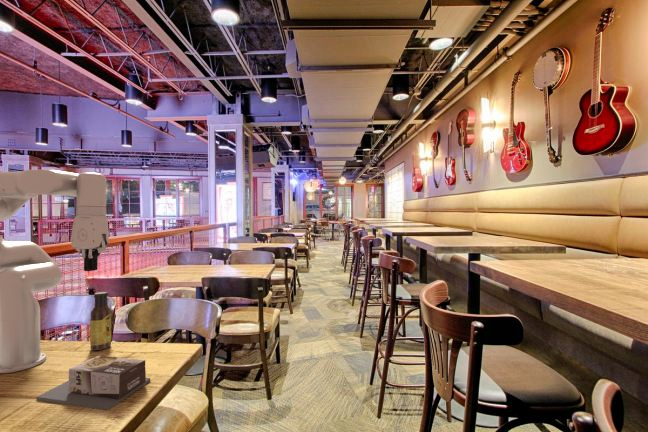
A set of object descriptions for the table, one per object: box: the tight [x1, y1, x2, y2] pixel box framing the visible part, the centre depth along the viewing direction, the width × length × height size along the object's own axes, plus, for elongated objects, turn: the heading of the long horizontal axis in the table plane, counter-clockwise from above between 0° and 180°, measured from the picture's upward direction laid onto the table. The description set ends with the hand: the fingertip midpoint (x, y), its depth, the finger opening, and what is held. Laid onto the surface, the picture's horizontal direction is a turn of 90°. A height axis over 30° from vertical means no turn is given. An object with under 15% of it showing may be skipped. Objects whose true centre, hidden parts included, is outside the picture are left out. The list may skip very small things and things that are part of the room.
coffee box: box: [68, 355, 147, 399], centre depth 86 cm, size 9×6×16 cm
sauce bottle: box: [89, 291, 112, 351], centre depth 115 cm, size 6×6×20 cm
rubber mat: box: [36, 377, 151, 411], centre depth 87 cm, size 22×14×1 cm, turn 78°
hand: (90, 270), depth 100 cm, fingers closed
